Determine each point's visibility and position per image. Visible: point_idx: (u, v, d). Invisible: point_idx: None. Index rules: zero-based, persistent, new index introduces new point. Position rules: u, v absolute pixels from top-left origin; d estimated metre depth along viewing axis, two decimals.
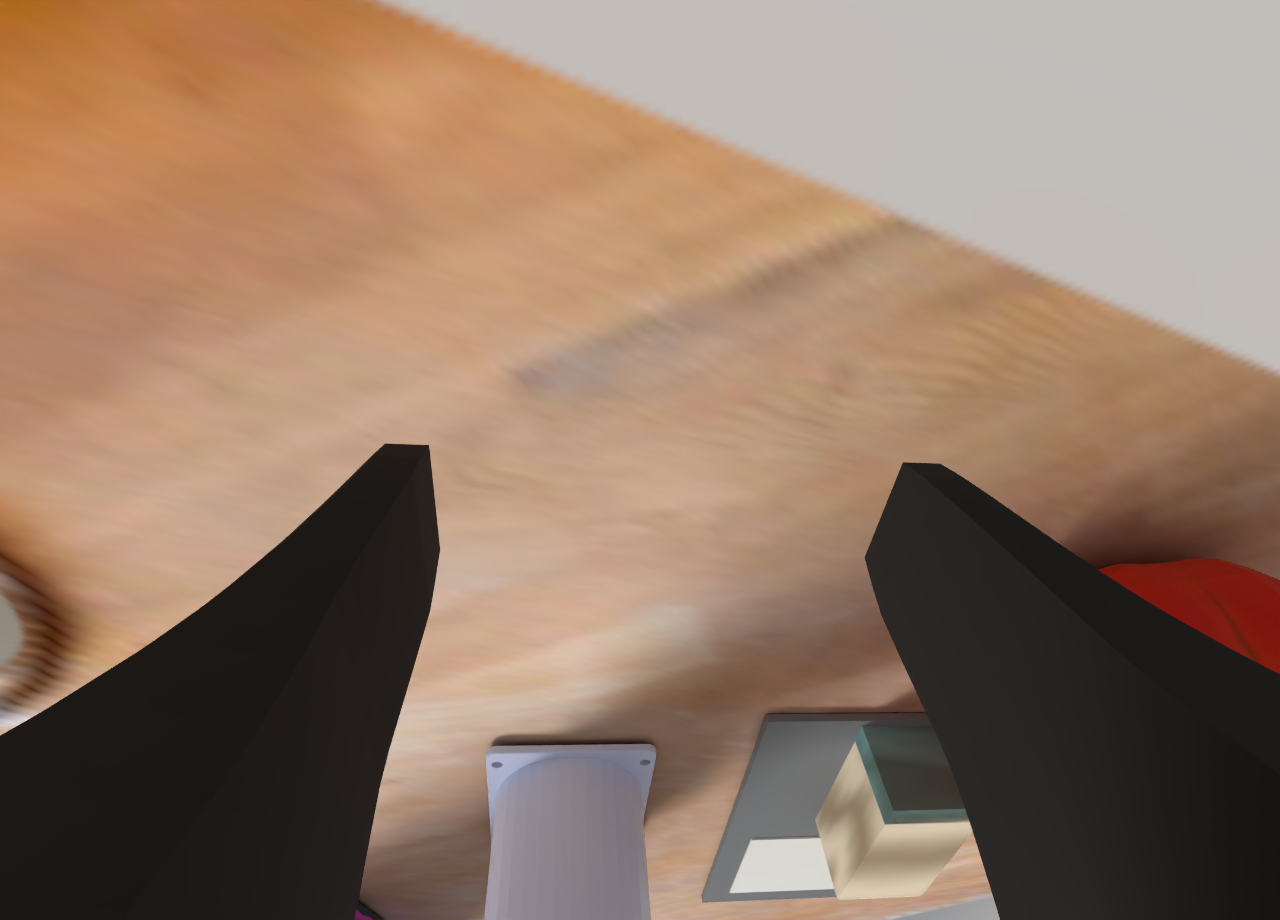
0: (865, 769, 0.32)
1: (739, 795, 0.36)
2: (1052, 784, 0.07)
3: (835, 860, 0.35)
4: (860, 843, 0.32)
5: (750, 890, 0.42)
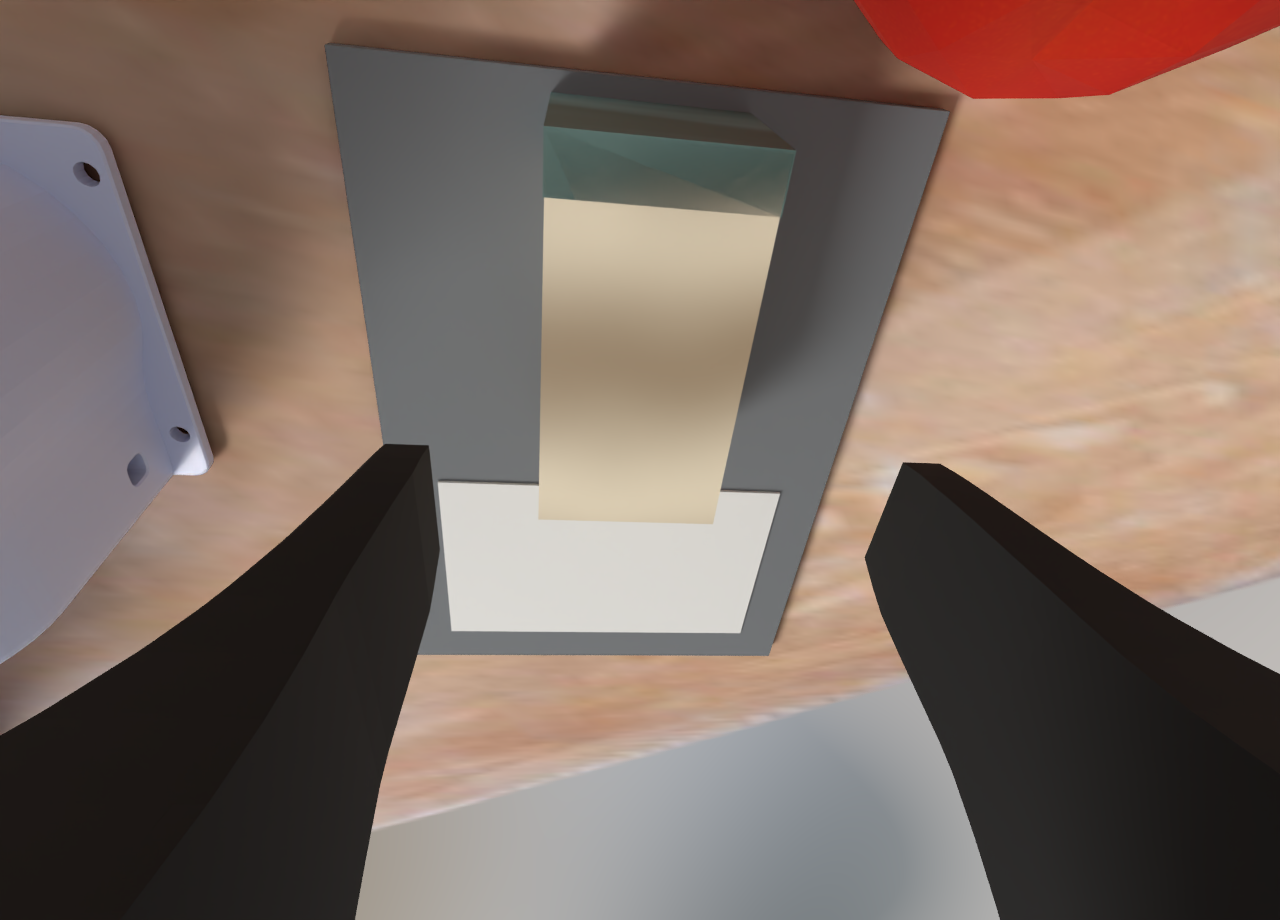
0: None
1: None
2: (1052, 784, 0.07)
3: None
4: None
5: (486, 626, 0.25)
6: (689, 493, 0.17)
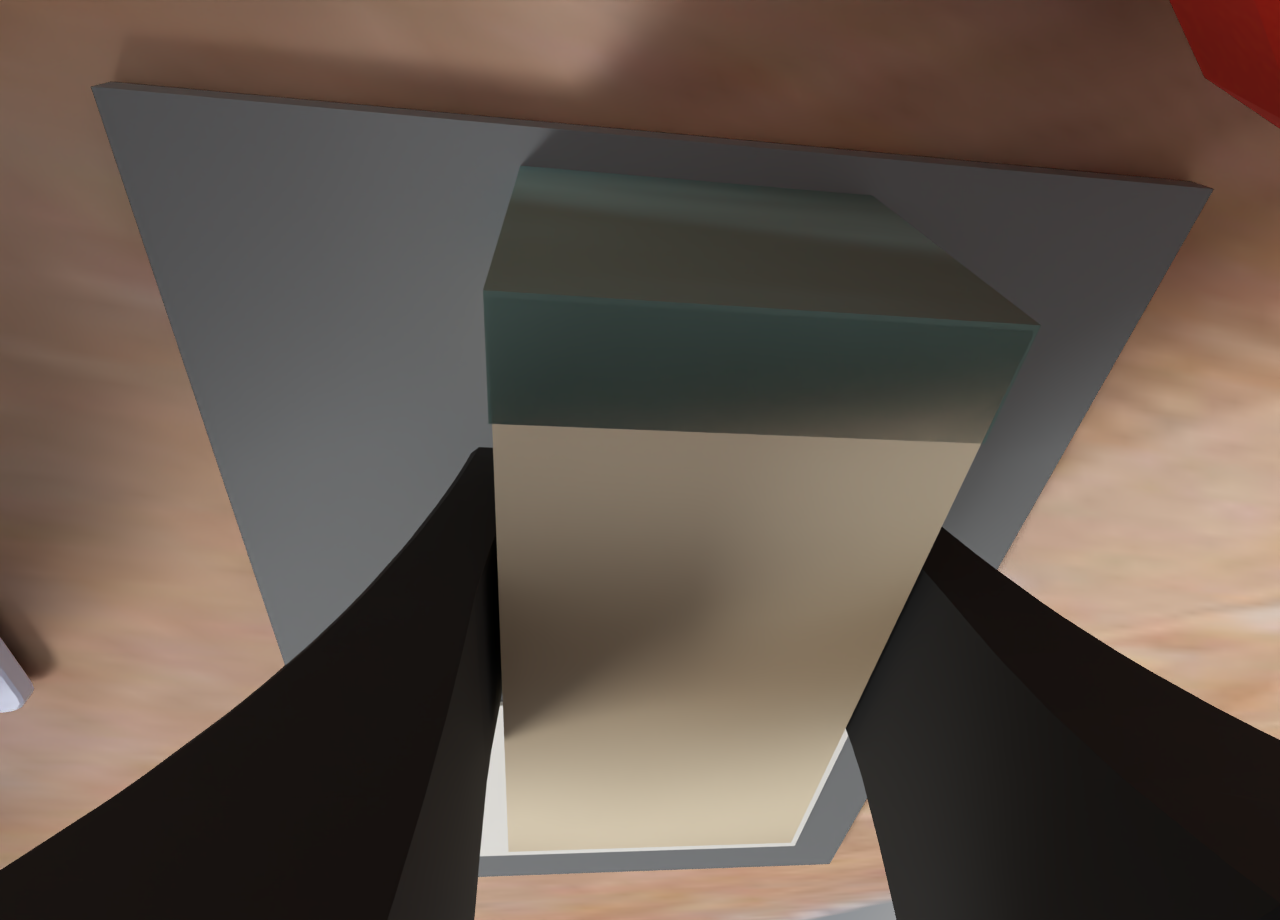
0: None
1: None
2: (939, 787, 0.07)
3: None
4: None
5: None
6: (757, 812, 0.10)
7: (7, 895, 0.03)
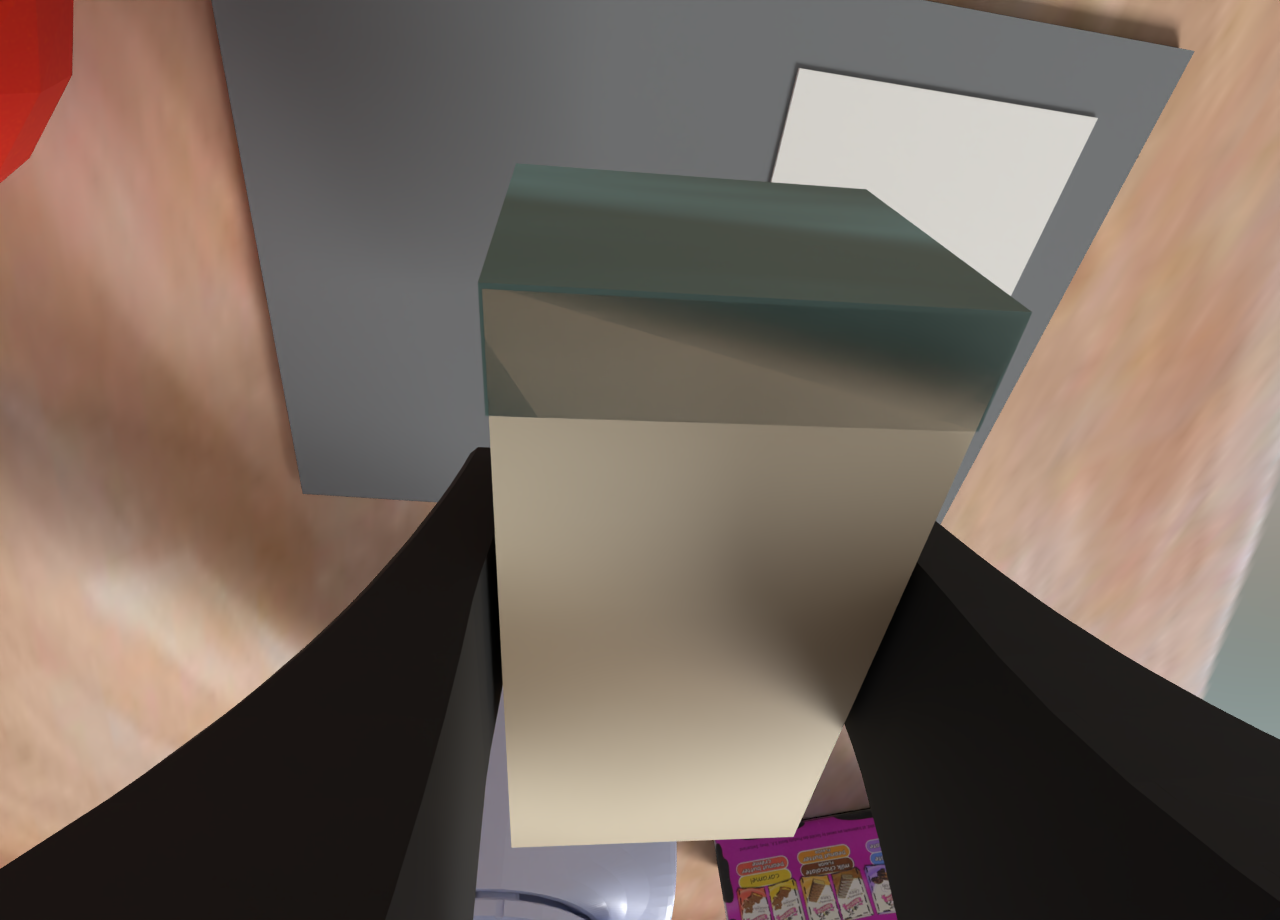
0: None
1: None
2: (941, 787, 0.07)
3: None
4: None
5: None
6: (759, 806, 0.10)
7: (5, 897, 0.03)
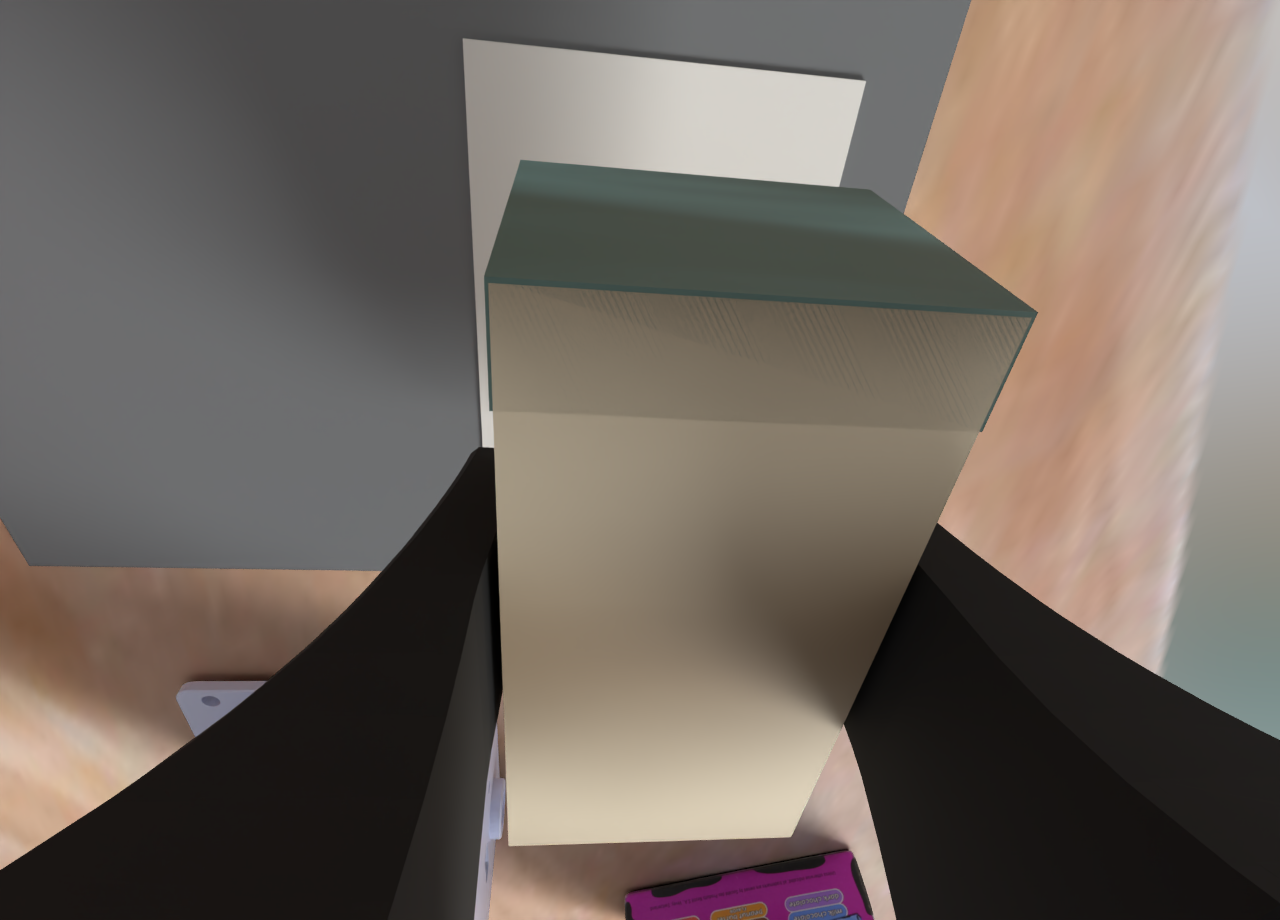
0: None
1: None
2: (939, 787, 0.07)
3: None
4: None
5: None
6: (756, 806, 0.10)
7: (5, 896, 0.03)
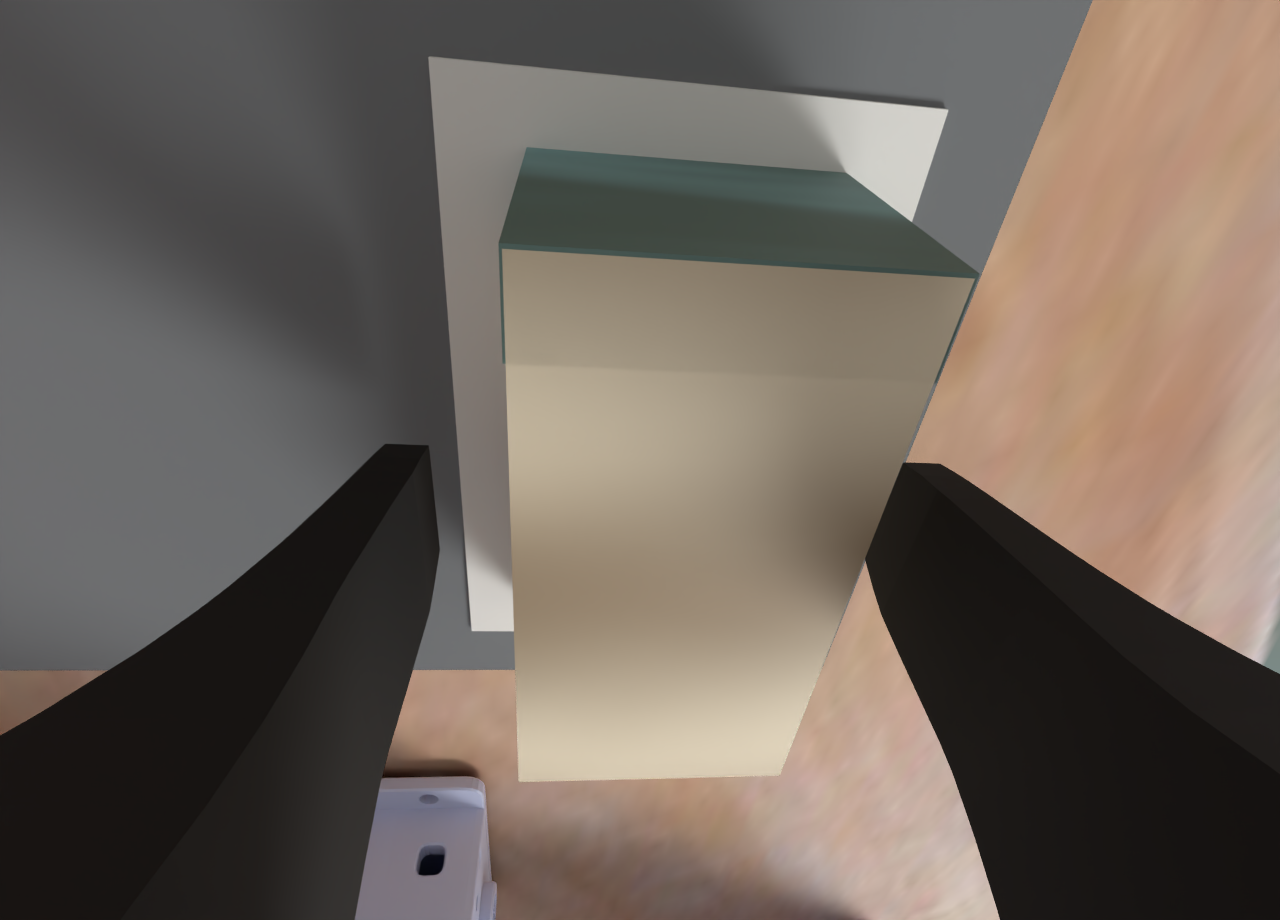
0: None
1: None
2: (1052, 784, 0.07)
3: None
4: None
5: None
6: (746, 744, 0.11)
7: None
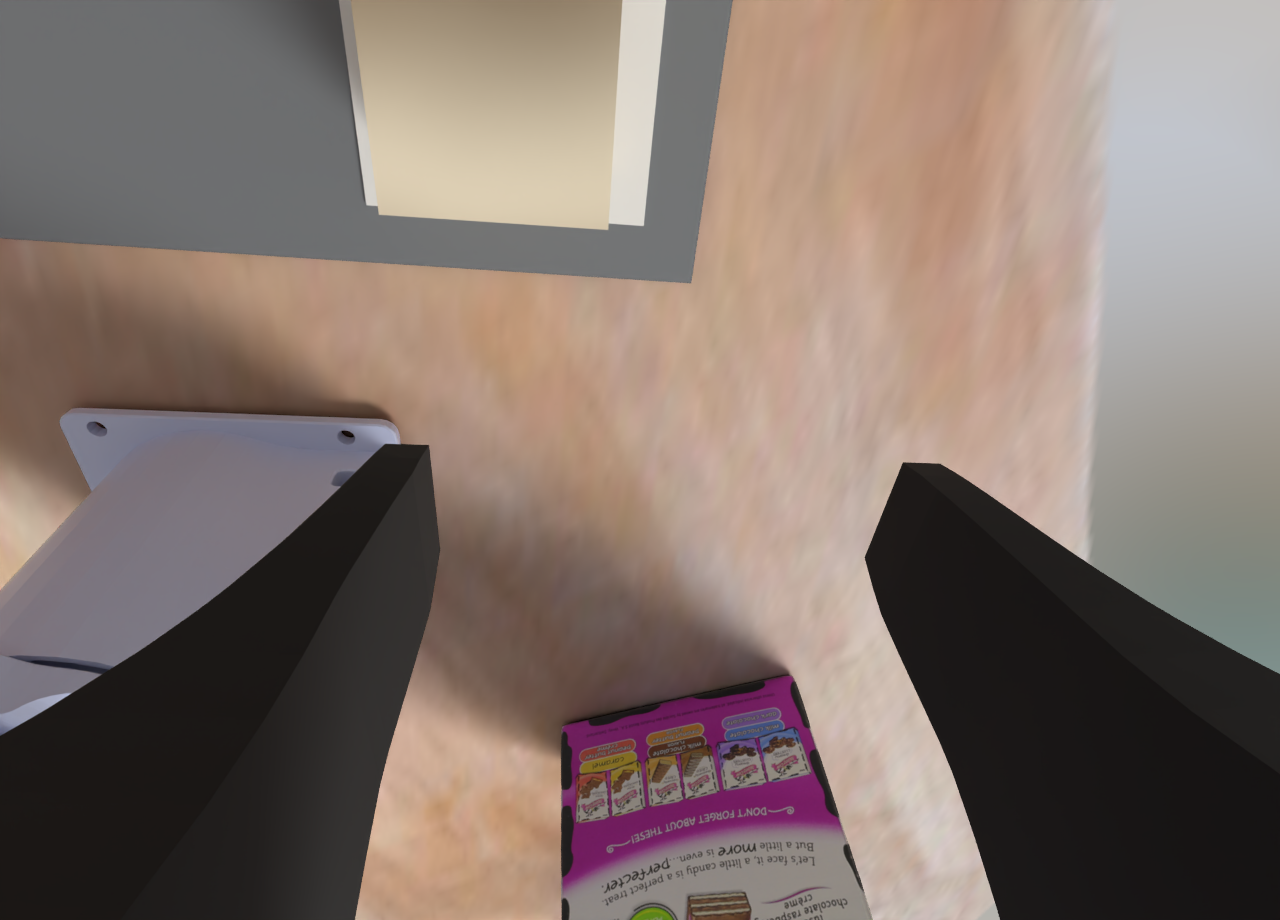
0: None
1: (197, 248, 0.17)
2: (1052, 784, 0.07)
3: None
4: None
5: (637, 173, 0.17)
6: (571, 175, 0.13)
7: None
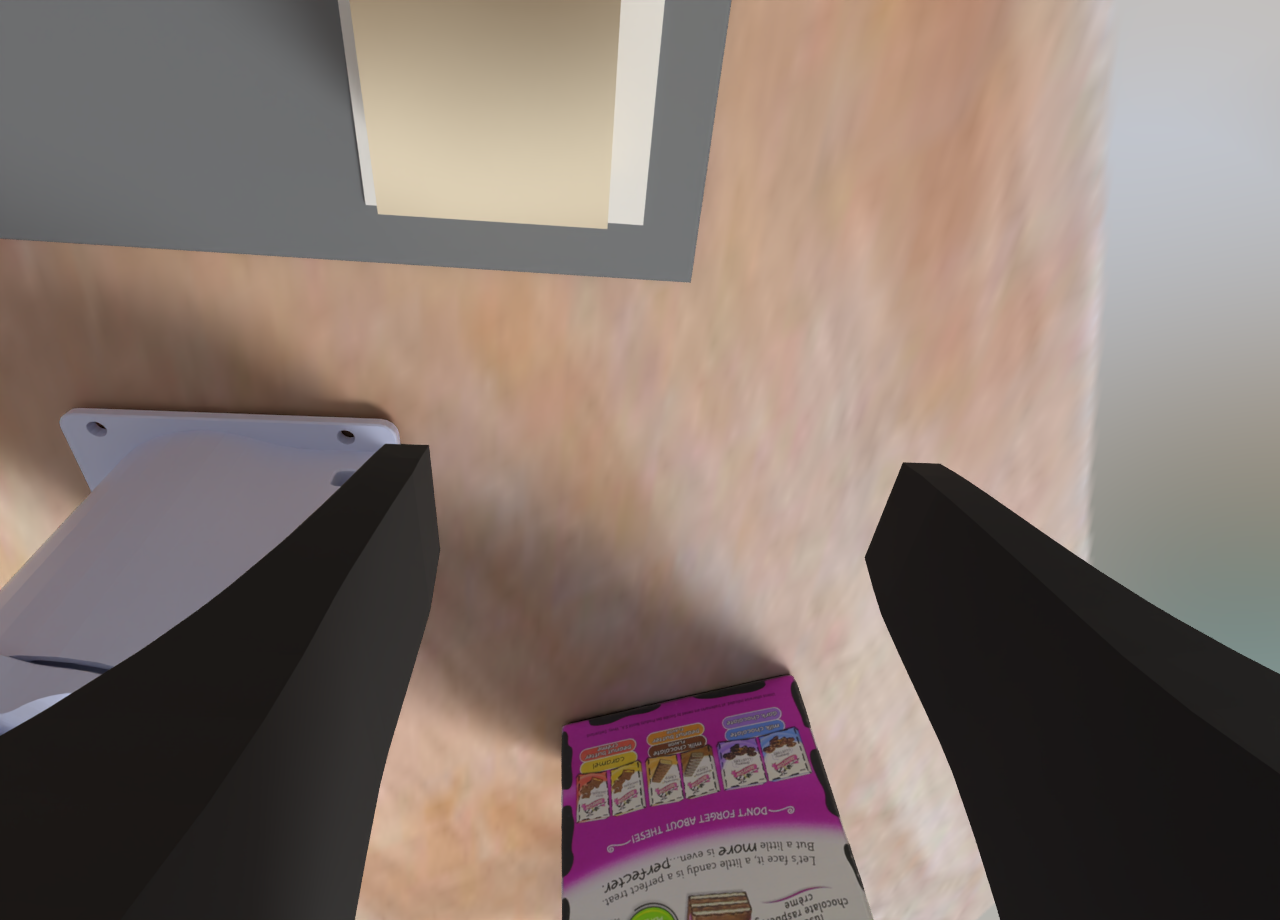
0: None
1: (196, 248, 0.17)
2: (1052, 784, 0.07)
3: None
4: None
5: (636, 173, 0.17)
6: (570, 174, 0.13)
7: None
